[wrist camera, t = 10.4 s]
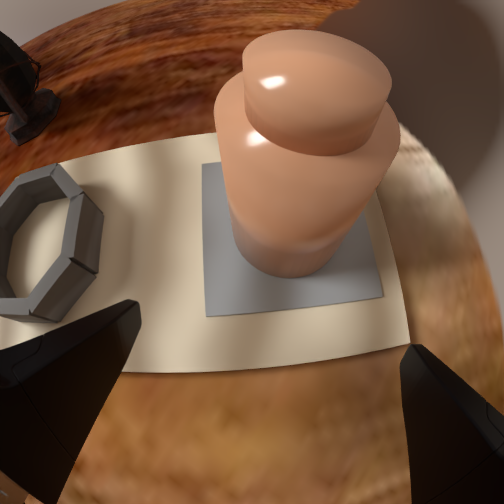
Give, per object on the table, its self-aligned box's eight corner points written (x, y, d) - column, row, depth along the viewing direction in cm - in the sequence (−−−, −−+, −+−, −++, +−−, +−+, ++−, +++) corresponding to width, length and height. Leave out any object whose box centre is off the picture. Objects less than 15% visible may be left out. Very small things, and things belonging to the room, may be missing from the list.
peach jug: (336, 285, 16) (444, 163, 6) (222, 268, 16) (174, 117, 6) (341, 155, 19) (386, 17, 9) (250, 141, 20) (247, -6, 9)
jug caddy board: (-2, 356, 16) (-40, 349, 12) (23, 185, 21) (-2, 160, 17) (399, 344, 16) (437, 337, 12) (348, 139, 22) (362, 99, 18)
